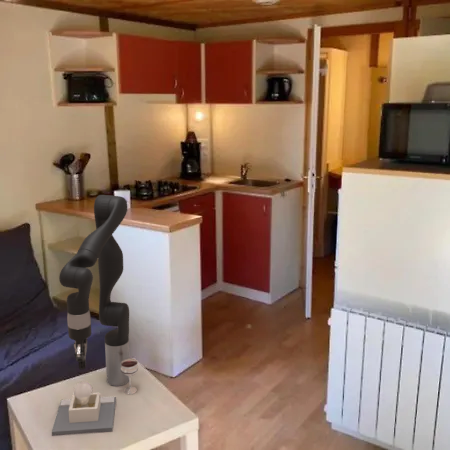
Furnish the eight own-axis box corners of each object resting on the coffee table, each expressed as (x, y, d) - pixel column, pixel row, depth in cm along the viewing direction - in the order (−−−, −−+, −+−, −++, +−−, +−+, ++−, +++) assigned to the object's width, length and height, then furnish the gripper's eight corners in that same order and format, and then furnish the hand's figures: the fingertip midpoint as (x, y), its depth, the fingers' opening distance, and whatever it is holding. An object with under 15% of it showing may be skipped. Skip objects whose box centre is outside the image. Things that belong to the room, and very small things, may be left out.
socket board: (61, 403, 191) (59, 388, 189) (116, 400, 194) (115, 385, 192) (51, 435, 174) (50, 419, 172) (112, 431, 176) (111, 414, 175)
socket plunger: (76, 408, 186) (76, 404, 186) (96, 406, 187) (96, 403, 187) (73, 420, 180) (73, 416, 179) (94, 418, 180) (94, 415, 180)
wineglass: (141, 386, 203) (140, 358, 200) (136, 396, 196) (135, 368, 193) (124, 384, 204) (123, 357, 200) (119, 394, 197) (117, 366, 194)
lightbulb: (87, 402, 187) (84, 375, 184) (97, 408, 183) (95, 381, 180) (72, 410, 183) (69, 383, 180) (82, 417, 179) (79, 389, 176)
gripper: (70, 314, 180) (74, 359, 184) (64, 332, 167) (68, 379, 172) (93, 313, 181) (95, 357, 185) (88, 331, 168) (91, 378, 173)
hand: (82, 368), depth 179 cm, fingers closed
